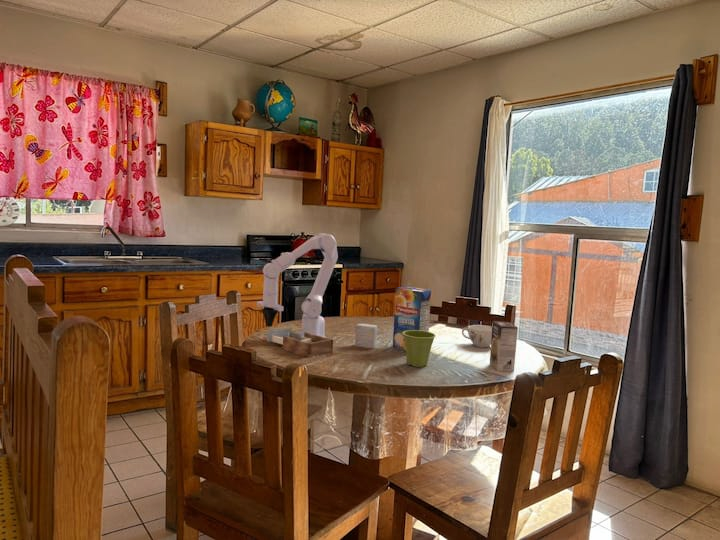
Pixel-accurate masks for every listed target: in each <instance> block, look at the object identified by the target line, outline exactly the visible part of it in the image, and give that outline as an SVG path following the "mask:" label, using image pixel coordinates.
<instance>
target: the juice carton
mask: <svg viewBox="0 0 720 540" xmlns="http://www.w3.org/2000/svg"><path fill="white" fill-rule="evenodd" d="M431 297H432V290H431V289H425V288H419V287H411V286H401V287H395V297H394V315H393V317H394V318H393V332H392V334H393V335H392V348H395V349H397V350H398V349H399V350H403V351H406V347H405V340H404V335H403V332H404V331H408V330H419V331H427V332H430V314H431V313H430V312H431V300H432V298H431Z"/></svg>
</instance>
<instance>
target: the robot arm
mask: <svg viewBox="0 0 720 540" xmlns="http://www.w3.org/2000/svg"><path fill="white" fill-rule="evenodd" d="M336 240H337V239H335V237H334V236H333V235H332V234H330V233H324V232H320V233H318V234H316V235H313V236H312V237H310V238H309V239H308V240H306V241H305V242H304V243H302V244H301V245H300V246H298V247H297V248H295V249H294V250H293V251H291V252H290V251H289V252H288V251H286V252H281V253H280V256H278V257H277V258H275V259H272V260H271V262H268V263H266V264H264V267H263V268H262V274H263V289H262V291H263V292H262V293H263V294H262V300H259V301H258V300H257V301H256V306H257V307H262V308H261V310H260V312H261V313H262V315H263V318H264V321H265V327H268V328H269V327H273V325H274V321H275V318H276V316H277V314H278V313H279V312H284V306H283V305H281V304H279V303H278V295H279V293H278V291H279V280H278V279H279V276H280V275H281V273H283V272H284V271H286V270H287V269H289V268H290V267H292V266H293V265H295V263H296V260H297V259H298V258H300V257H301V256H303V255H305V254H307V253H308V252H309V251H311V250H320V251H321V253H322V255H323V257H324V258H323V261H322V264H321V266H320V268H319V271H318V274H317V276H316V278H315V281H314V283H313V287H312V289H311V291H310V293H309V294H308V295H307V296H306V298H305V300H303V302H301V303H302V304H301V305H300V307H301V311H302V313H303V314H302V318H301V319H302V320H301V332H302V336H304V333H306V332H307V333H310V334H314V335H318V336H322V337H325V338H327V337H326V335H325V334H326V332H325V330H326V321H325V319H324V317H323V316H322V315H321V313H322V304H323V296H324V295H325V291H326V289H327V286H328V284H329V281H330V278H331V276H332V274H333V271H334V268H335V266H336V264H337V261H338V258H339V255H338V254H339V253H338V248H337V246H338V242H337V241H336Z"/></svg>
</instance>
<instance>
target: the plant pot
mask: <svg viewBox="0 0 720 540" xmlns="http://www.w3.org/2000/svg"><path fill="white" fill-rule="evenodd" d="M403 335H404V340H405V347H406V350H405V355H406V364H407V365H409V366H410V365H411V366H412V367H419V368H422V367H425V366H426V367H427V366H428V361H429V358H430V353H431V350H432V345H433V343H434V339H435V338H436V336H437V335H436V334H435V333H433V332H431V331H429V332H427V331H419V330H408V331H404V332H403Z"/></svg>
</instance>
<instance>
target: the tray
mask: <svg viewBox="0 0 720 540" xmlns="http://www.w3.org/2000/svg"><path fill="white" fill-rule="evenodd" d="M266 332H267V333H266V342H273V343H276V344H279V345H282V346H283V336H287V337H289V333H290V332H293V327H285V328H280V329H279V328H278V329H273V330H267V331H266ZM301 341H304V342H308V343H313V339H311V338H308V337H304V336H302V340H301Z"/></svg>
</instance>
